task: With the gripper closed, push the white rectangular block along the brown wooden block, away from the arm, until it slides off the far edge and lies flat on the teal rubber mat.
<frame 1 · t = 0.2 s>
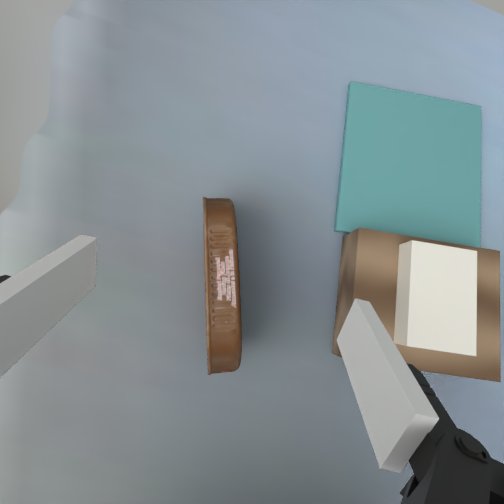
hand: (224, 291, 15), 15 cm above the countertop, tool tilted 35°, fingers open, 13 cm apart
brown wooden block: (402, 303, 31), on the countertop
white rectangular block: (428, 297, 27), point 4 cm above the countertop, touching brown wooden block
tin: (221, 285, 30), on the countertop
mat: (410, 166, 34), on the countertop
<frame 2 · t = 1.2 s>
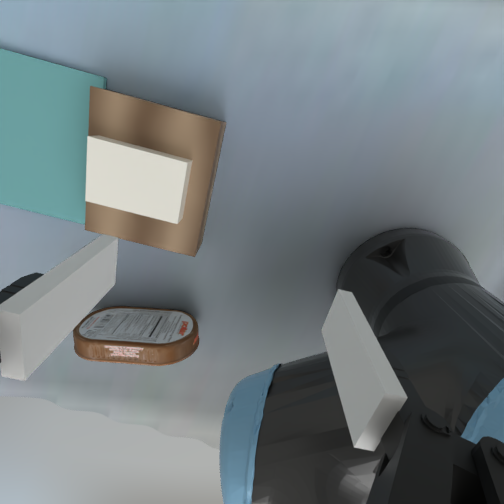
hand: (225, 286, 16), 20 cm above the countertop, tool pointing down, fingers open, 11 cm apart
brown wooden block: (160, 174, 33), on the countertop
white rectangular block: (142, 178, 30), point 4 cm above the countertop, touching brown wooden block
tin: (150, 312, 41), on the countertop
mat: (19, 137, 32), on the countertop
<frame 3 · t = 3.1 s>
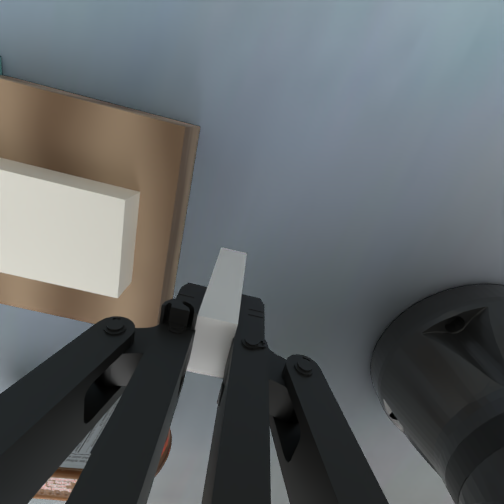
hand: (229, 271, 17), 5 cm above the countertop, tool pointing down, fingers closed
brown wooden block: (102, 207, 22), on the countertop
white rectangular block: (60, 222, 18), point 4 cm above the countertop, touching brown wooden block
tin: (105, 393, 29), on the countertop
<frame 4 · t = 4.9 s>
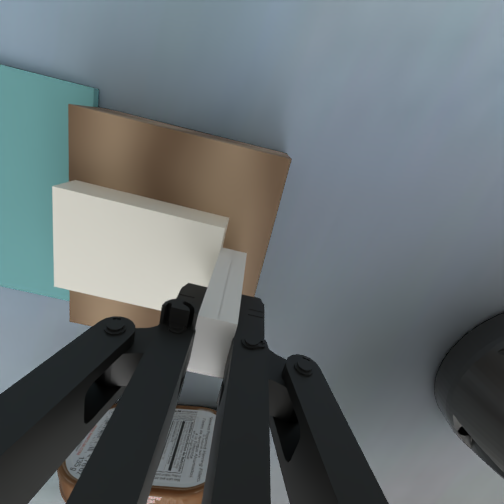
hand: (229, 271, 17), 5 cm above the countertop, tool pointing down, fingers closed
brown wooden block: (182, 230, 22), on the countertop
white rectangular block: (147, 245, 18), point 4 cm above the countertop, touching brown wooden block, gripper
tin: (167, 408, 30), on the countertop
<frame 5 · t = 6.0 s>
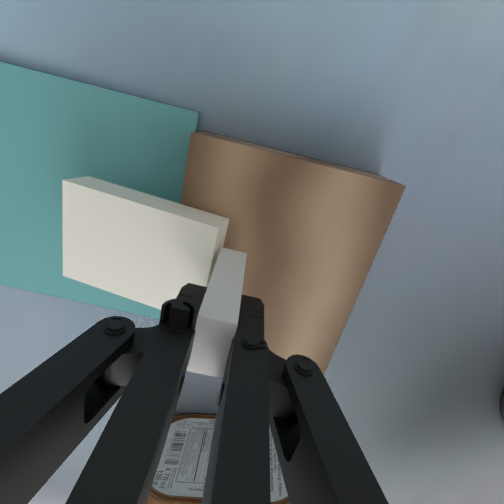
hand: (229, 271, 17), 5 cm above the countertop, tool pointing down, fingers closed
brown wooden block: (267, 248, 23), on the countertop
white rectangular block: (151, 243, 19), point 4 cm above the countertop, tilted 10°, touching brown wooden block
tin: (229, 419, 30), on the countertop
mat: (60, 199, 22), on the countertop
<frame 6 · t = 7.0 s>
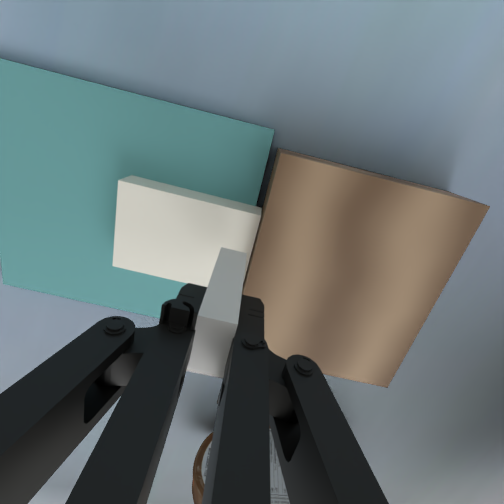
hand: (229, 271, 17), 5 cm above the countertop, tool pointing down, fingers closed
brown wooden block: (329, 262, 23), on the countertop
white rectangular block: (190, 232, 22), point 1 cm above the countertop, touching mat
tin: (276, 428, 30), on the countertop
mat: (126, 214, 22), on the countertop
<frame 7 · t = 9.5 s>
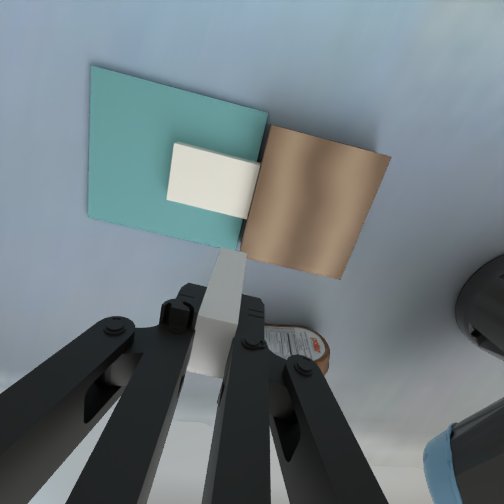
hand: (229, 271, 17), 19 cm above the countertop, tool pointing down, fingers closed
brown wooden block: (304, 200, 35), on the countertop
white rectangular block: (214, 179, 34), point 1 cm above the countertop, touching mat
tin: (270, 328, 43), on the countertop
mat: (172, 168, 34), on the countertop
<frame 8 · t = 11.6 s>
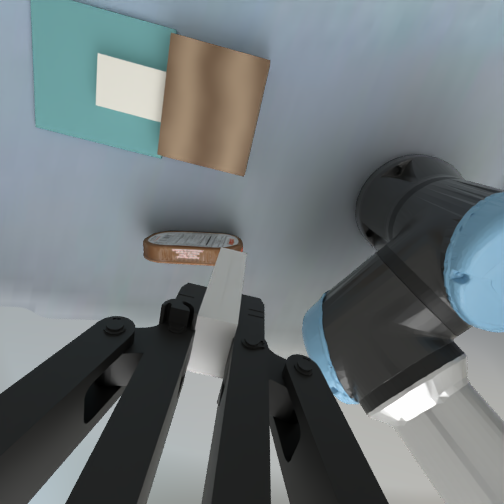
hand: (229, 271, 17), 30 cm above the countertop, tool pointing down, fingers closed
brown wooden block: (214, 111, 42), on the countertop
white rectangular block: (137, 90, 40), point 1 cm above the countertop, touching mat
tin: (199, 236, 49), on the countertop
mat: (103, 82, 41), on the countertop
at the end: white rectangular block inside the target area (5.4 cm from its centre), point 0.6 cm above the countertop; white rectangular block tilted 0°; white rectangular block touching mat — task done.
